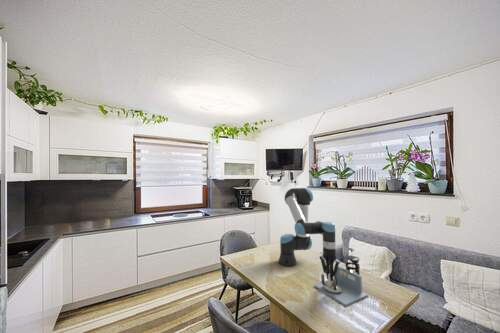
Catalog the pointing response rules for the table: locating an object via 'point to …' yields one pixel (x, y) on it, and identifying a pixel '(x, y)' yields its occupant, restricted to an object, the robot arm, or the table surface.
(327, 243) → the robot arm
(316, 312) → the table surface
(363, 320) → the table surface
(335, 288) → the capstan
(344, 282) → the stand
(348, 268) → the french press
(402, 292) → the table surface
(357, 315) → the table surface
